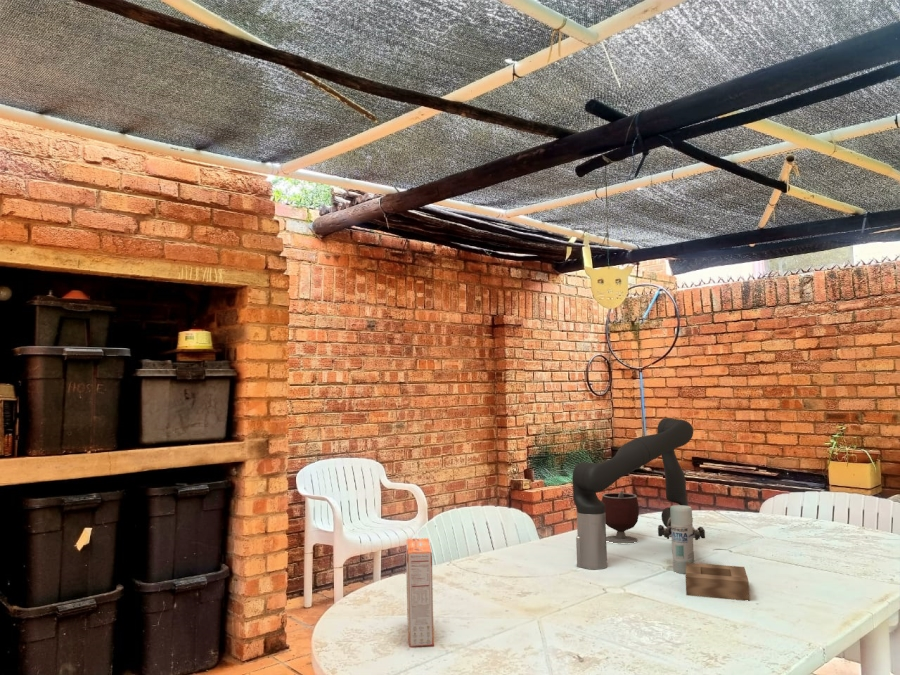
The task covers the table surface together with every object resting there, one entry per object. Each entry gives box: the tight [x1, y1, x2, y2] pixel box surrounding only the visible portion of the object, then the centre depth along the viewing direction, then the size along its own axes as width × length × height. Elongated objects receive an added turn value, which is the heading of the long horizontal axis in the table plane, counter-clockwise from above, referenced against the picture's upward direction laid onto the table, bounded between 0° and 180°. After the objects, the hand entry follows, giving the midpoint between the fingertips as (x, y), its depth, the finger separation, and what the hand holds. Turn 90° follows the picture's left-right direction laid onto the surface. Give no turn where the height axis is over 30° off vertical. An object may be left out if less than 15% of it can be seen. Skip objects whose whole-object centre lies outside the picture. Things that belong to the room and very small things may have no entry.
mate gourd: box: [601, 490, 640, 544], centre depth 246 cm, size 16×14×20 cm
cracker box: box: [405, 537, 435, 648], centre depth 150 cm, size 14×6×21 cm, turn 5°
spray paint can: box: [670, 504, 695, 575], centre depth 202 cm, size 6×6×20 cm
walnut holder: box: [685, 562, 751, 602], centre depth 182 cm, size 16×16×5 cm
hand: (682, 536), depth 201 cm, fingers open, 8 cm apart
